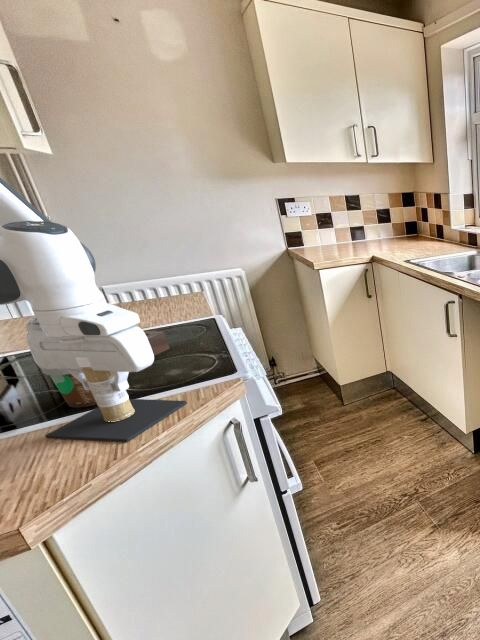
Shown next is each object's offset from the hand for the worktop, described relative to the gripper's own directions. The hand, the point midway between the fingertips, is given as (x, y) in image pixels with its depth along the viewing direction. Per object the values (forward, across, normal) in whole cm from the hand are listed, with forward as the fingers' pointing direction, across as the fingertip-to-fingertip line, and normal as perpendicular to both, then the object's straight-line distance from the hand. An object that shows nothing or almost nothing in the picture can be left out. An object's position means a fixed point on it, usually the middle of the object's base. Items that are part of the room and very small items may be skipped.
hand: (107, 389), depth 78 cm
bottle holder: (+7, -25, +27) cm, 37 cm away
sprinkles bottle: (+6, 0, 0) cm, 6 cm away
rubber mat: (+7, 0, 0) cm, 7 cm away
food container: (+7, -16, +6) cm, 18 cm away
